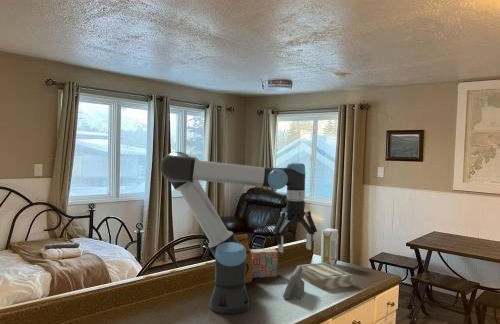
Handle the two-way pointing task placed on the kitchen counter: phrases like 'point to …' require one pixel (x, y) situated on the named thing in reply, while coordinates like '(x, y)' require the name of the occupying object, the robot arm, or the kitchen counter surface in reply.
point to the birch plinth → (325, 276)
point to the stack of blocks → (264, 262)
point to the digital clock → (295, 285)
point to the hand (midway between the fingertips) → (294, 250)
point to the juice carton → (329, 246)
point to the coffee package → (244, 242)
